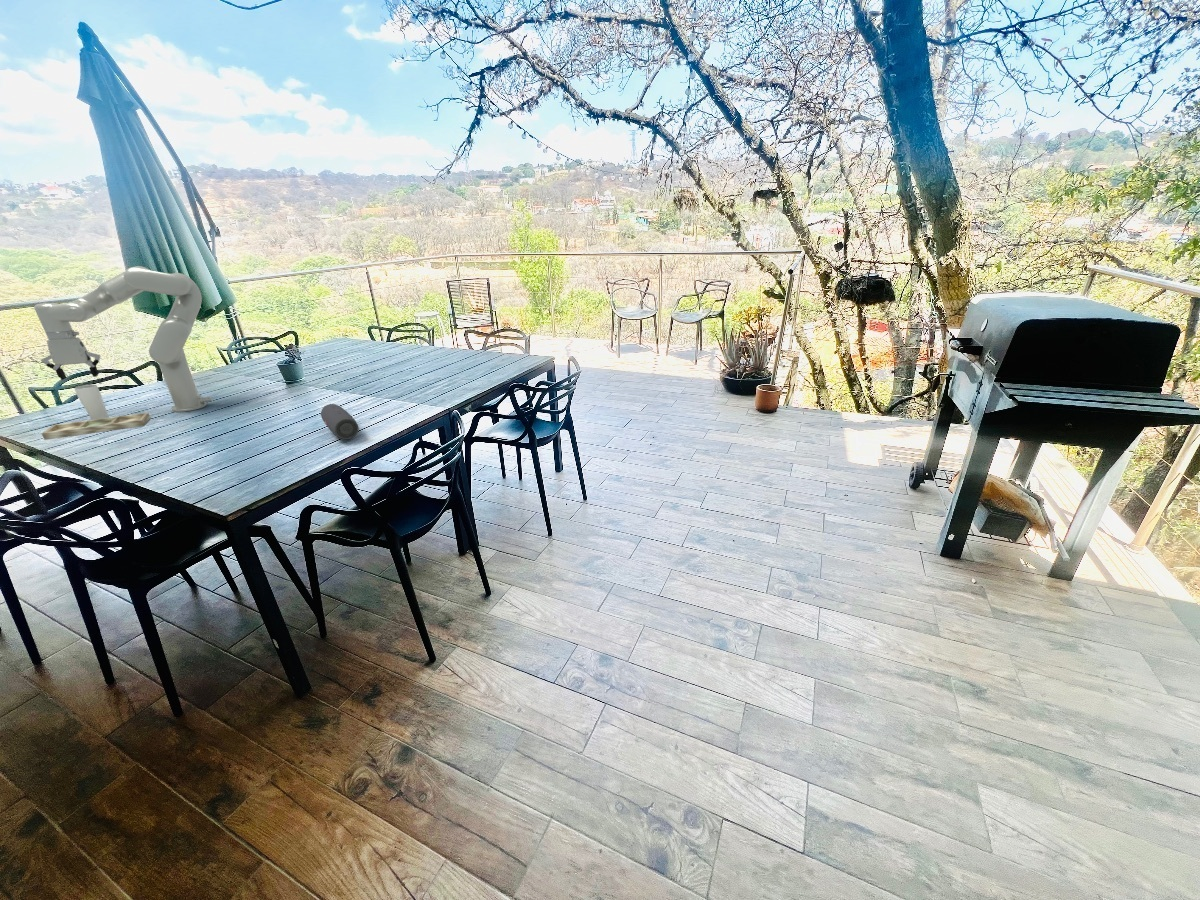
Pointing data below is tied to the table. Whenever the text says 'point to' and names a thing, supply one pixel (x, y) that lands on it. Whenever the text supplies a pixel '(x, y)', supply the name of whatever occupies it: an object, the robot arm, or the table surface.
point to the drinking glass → (92, 401)
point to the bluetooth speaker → (339, 421)
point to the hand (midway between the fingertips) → (80, 377)
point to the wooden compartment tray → (96, 425)
